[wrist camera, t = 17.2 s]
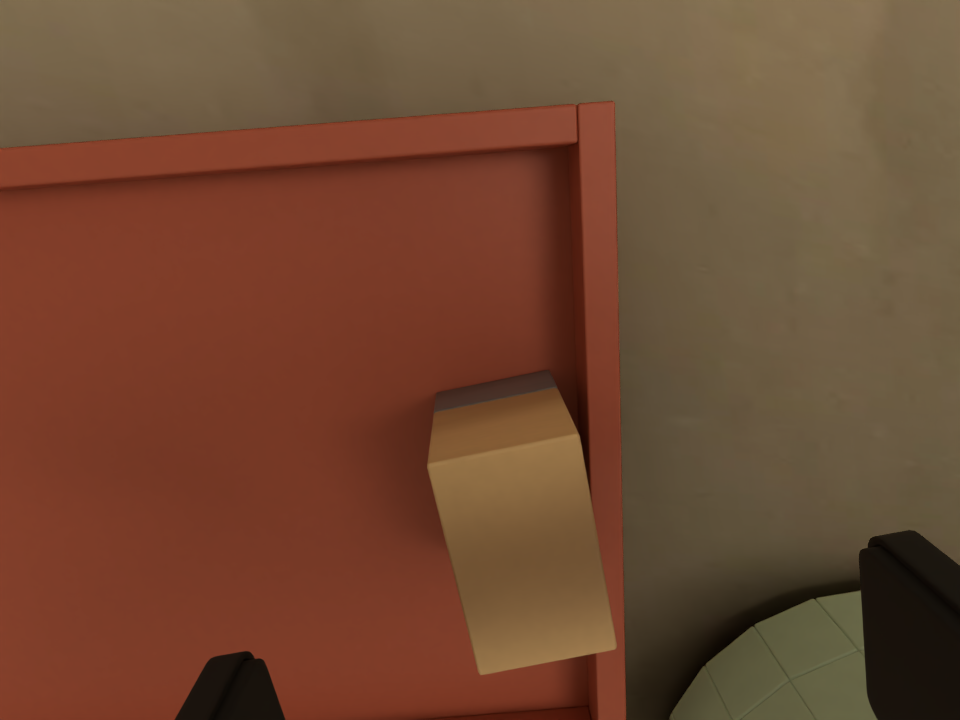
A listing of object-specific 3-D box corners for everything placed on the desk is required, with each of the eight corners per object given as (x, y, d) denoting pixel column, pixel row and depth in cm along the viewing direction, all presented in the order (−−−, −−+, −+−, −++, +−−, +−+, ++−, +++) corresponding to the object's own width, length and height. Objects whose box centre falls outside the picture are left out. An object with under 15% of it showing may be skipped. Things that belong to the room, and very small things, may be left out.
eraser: (435, 392, 17) (426, 464, 12) (549, 368, 17) (579, 433, 12) (474, 558, 18) (479, 677, 14) (580, 537, 18) (618, 650, 14)
